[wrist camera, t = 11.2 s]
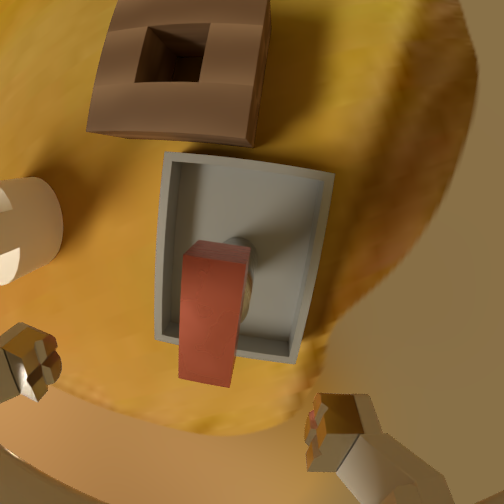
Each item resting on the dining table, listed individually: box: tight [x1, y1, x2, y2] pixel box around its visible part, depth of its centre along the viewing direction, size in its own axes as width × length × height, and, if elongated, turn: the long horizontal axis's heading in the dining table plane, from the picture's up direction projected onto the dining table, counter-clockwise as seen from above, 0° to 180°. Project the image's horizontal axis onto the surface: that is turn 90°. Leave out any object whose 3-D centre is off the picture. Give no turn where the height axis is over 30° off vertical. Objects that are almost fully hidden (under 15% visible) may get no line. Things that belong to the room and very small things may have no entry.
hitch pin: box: [179, 237, 258, 388], centre depth 17 cm, size 6×3×10 cm, turn 172°
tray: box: [154, 152, 335, 364], centre depth 21 cm, size 14×11×3 cm
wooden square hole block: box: [86, 0, 271, 148], centre depth 17 cm, size 10×10×6 cm
